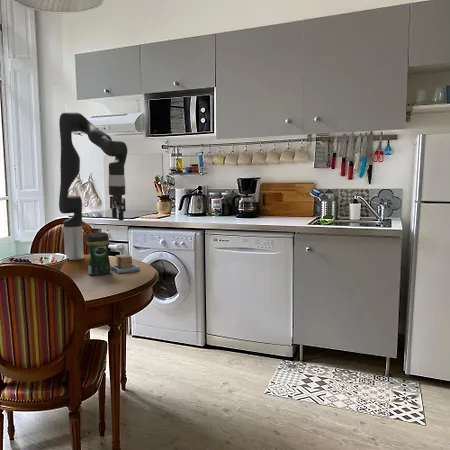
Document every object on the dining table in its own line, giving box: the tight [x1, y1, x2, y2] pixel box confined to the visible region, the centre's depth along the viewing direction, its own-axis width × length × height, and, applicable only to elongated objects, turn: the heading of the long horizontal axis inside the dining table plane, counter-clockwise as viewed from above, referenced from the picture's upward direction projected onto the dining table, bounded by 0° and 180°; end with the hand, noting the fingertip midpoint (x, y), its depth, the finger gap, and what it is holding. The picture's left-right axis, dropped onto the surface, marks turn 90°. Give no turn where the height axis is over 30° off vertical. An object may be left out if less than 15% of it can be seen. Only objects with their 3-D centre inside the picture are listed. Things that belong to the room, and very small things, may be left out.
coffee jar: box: [86, 231, 112, 276], centre depth 191 cm, size 10×8×19 cm
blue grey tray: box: [110, 263, 141, 275], centre depth 199 cm, size 10×10×2 cm
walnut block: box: [117, 254, 133, 269], centre depth 198 cm, size 5×5×6 cm
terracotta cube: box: [115, 254, 124, 265], centre depth 214 cm, size 4×4×4 cm
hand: (117, 219), depth 202 cm, fingers open, 8 cm apart
